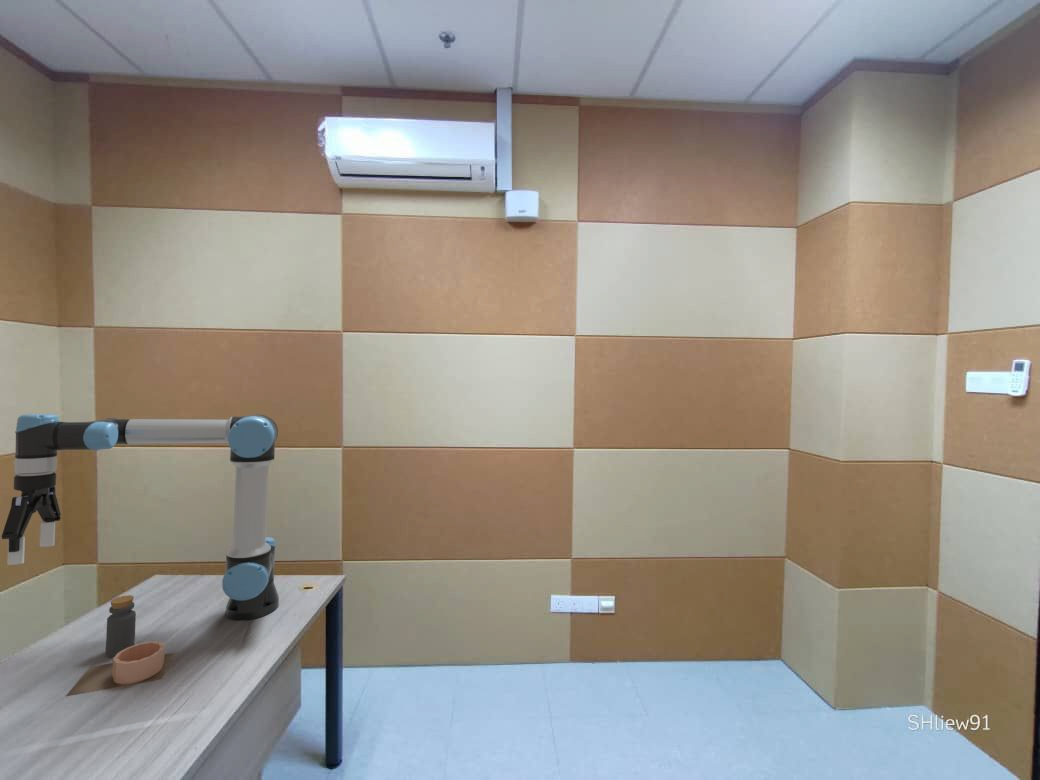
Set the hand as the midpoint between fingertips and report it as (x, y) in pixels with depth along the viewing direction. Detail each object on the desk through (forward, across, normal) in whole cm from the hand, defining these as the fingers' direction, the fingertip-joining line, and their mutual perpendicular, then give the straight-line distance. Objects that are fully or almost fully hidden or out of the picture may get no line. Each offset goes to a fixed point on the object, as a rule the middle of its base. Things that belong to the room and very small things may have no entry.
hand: (32, 554), depth 117 cm
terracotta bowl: (+27, +17, +28) cm, 42 cm away
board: (+28, +16, +25) cm, 41 cm away
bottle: (+28, +4, +20) cm, 35 cm away
